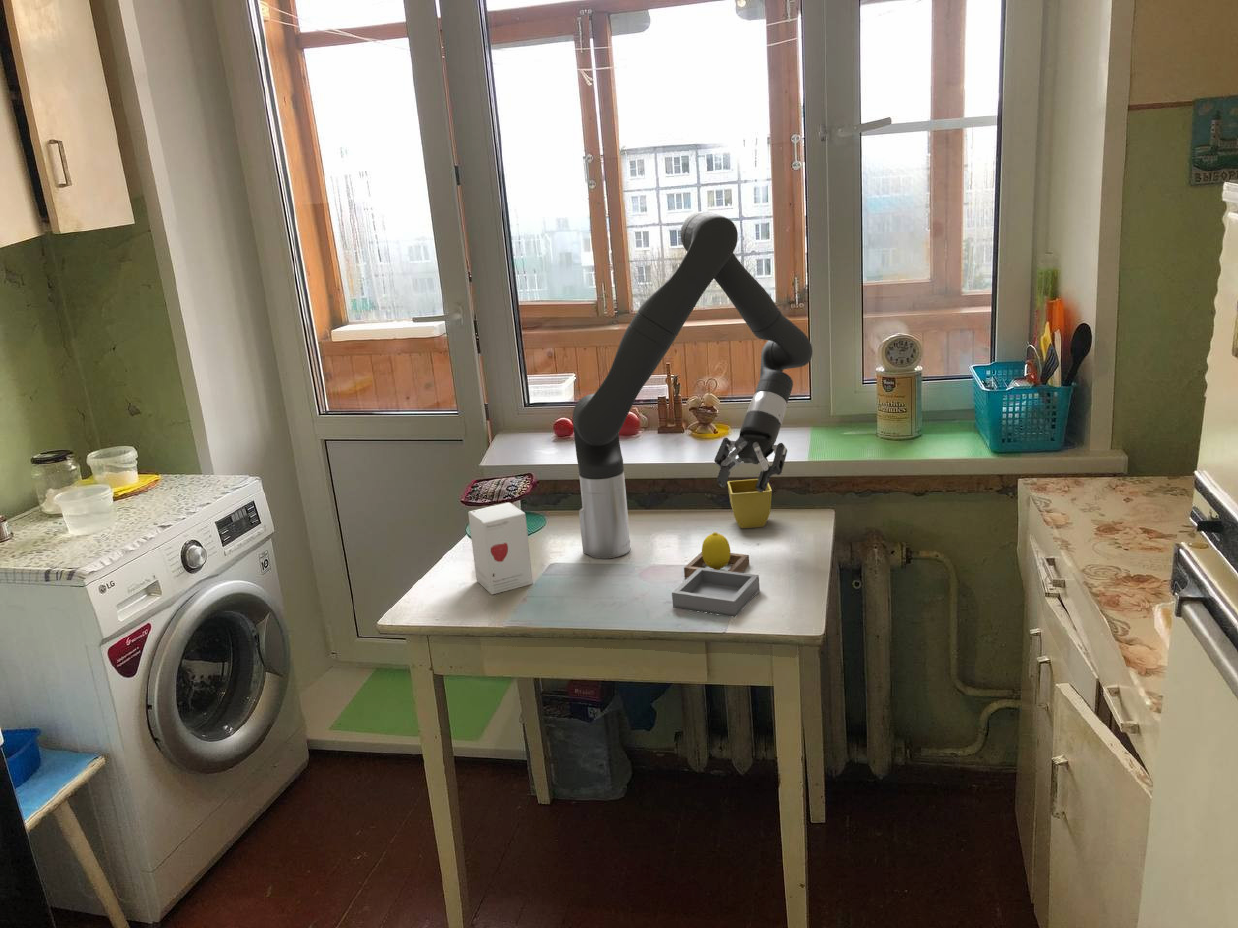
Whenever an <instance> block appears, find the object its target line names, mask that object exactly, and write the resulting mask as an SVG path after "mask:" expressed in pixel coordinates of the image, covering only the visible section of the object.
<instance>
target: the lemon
mask: <svg viewBox="0 0 1238 928" xmlns="http://www.w3.org/2000/svg"><path fill="white" fill-rule="evenodd" d="M701 552H702V557H703V560H704V562H705V564H704V565H706V566H707V568H709V569H716V570H722V569H723V568H724V567H726V566H727V565H728V564H727V563H728V562H729V559H730V554H731V553H732V551H731V547H730V544H729V541H728V539H727V538H726V537H725V536H724V535H722V534H720V533H718V532H716V531H714V532H712V533H711V534H709V535H708V536H706V537H705V539H704V540H703V542H702V545H701Z"/></svg>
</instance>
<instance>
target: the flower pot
mask: <svg viewBox="0 0 1238 928" xmlns="http://www.w3.org/2000/svg"><path fill="white" fill-rule="evenodd" d="M757 481H758V478H751V479H742V480H741V479H740V480H727V483H726V484H727V488H728V495H729V503H730V506H731V509H732V512H733V517H734V519H735V521H736V523H737V525H738V527H739V528H740V529H749V528H750V529H751V528H762V527H765V524H767V522H768V520H769V516H770V513H771V508H772V507H771V506H772V496H773V495H772V493H773V490H772V487H771V485H770V483H769V482H768V485H767V488H766V489H765V490H763V492H758V491H757V489H756V484H757Z"/></svg>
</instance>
